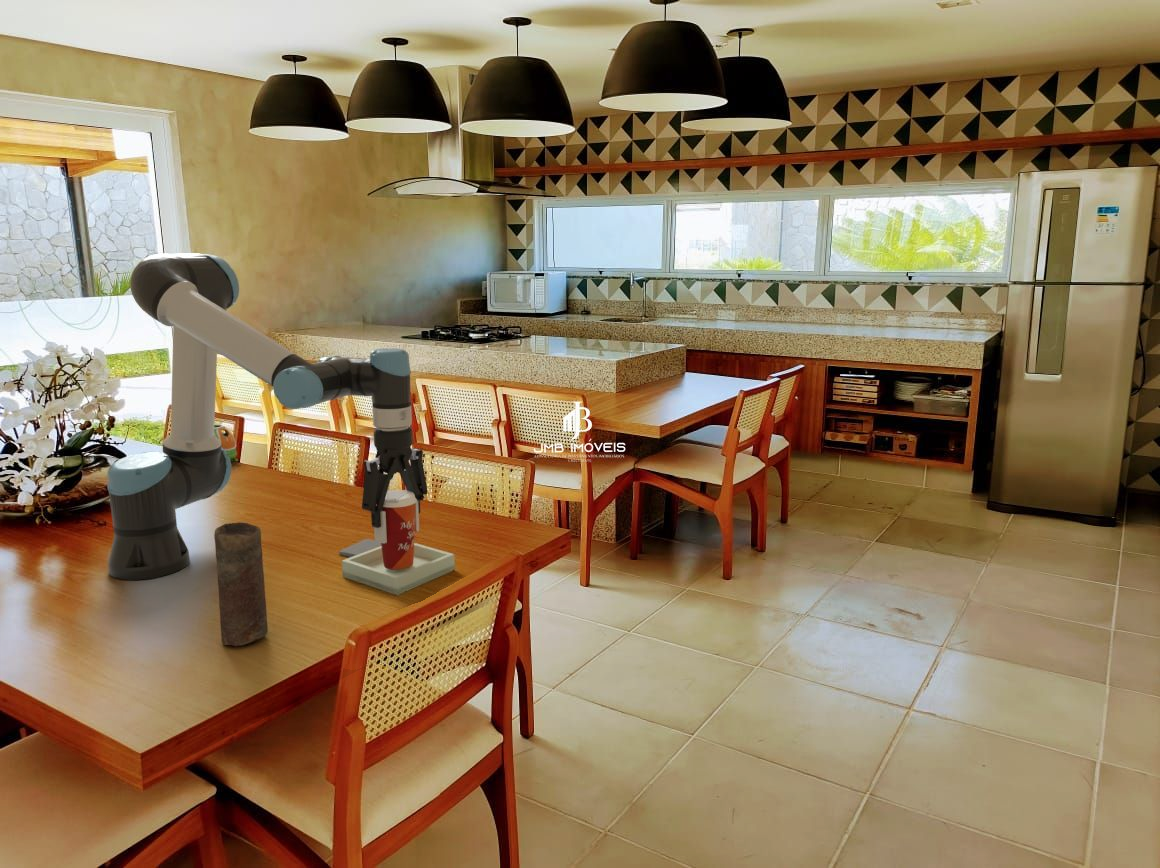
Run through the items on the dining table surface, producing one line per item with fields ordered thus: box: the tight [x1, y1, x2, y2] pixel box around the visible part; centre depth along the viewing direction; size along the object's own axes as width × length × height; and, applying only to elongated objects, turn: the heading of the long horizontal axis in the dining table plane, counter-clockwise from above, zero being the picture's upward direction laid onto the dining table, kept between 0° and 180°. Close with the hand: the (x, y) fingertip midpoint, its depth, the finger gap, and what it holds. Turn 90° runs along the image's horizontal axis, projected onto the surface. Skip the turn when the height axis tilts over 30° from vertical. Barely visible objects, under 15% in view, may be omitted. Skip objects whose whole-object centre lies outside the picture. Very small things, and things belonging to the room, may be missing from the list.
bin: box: [341, 542, 456, 596], centre depth 170 cm, size 16×16×4 cm
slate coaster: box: [338, 538, 381, 558], centre depth 183 cm, size 9×9×1 cm
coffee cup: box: [381, 489, 417, 570], centre depth 169 cm, size 8×8×15 cm
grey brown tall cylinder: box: [213, 521, 269, 647], centre depth 139 cm, size 8×7×20 cm
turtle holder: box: [214, 423, 239, 463], centre depth 258 cm, size 12×18×12 cm
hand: (397, 535), depth 169 cm, fingers closed on coffee cup, 8 cm apart
